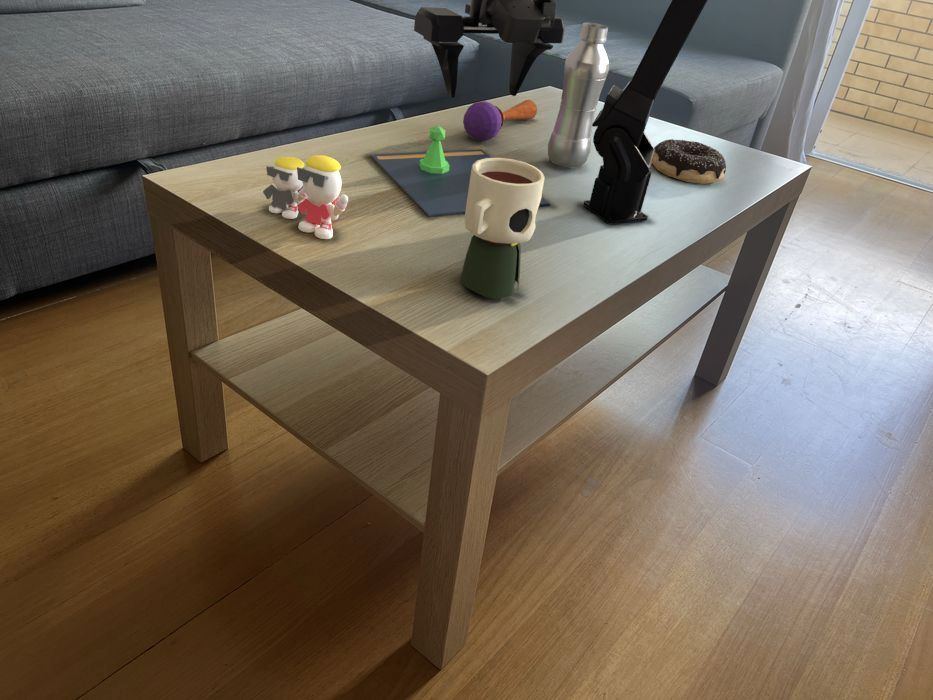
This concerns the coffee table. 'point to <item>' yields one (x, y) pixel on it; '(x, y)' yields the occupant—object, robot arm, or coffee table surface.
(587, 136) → the silver metal bottle
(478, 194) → the character mug
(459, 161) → the napkin
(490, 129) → the maraca
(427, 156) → the game piece
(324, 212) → the toy figures
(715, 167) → the donut
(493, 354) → the coffee table surface
